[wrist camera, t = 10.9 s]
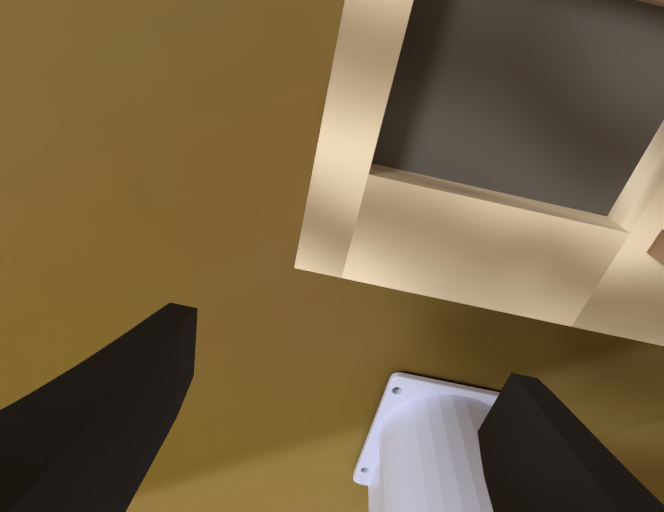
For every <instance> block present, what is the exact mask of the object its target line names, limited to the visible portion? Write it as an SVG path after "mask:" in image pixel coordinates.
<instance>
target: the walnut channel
mask: <svg viewBox="0 0 664 512" xmlns="http://www.w3.org/2000/svg"><path fill="white" fill-rule="evenodd" d="M646 253H647V254H649V255H650V256H651V257H653V258H654V259H655V260H657V261H658V262H659V263H661V264H662V265H663V266H664V230H663V229H662V230H661V231H660V233H659V234H658V236H657V237H656V239H655V240H654V242H653V243H652V245H651V246H650V248H649V249H648V251H647V252H646Z"/></svg>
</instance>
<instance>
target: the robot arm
mask: <svg viewBox="0 0 664 512" xmlns="http://www.w3.org/2000/svg"><path fill="white" fill-rule="evenodd" d="M196 325H197V308H193V307H189V306H184V305H179V304H174V303H169V304H167V305H165V306H164V307H162V308H161V309H159V310H158V311H157V312H155V313H154V314H152V315H151V316H149V317H148V318H146V319H145V320H144V321H142V322H141V323H139V324H138V325H136V326H135V327H134V328H132V329H131V330H129V331H128V332H126V333H125V334H123V335H122V336H120V337H119V338H118V339H116V340H115V341H113V342H112V343H110V344H108V345H107V346H105V347H104V348H102V349H101V350H99V351H98V352H96V353H95V354H93V355H92V356H90V357H89V358H87V359H86V360H84V361H83V362H81V363H79V364H78V365H76V366H75V367H73V368H72V369H70V370H68V371H67V372H65V373H63V374H62V375H60V376H58V377H57V378H55V379H53V380H52V381H50V382H48V383H47V384H45V385H43V386H42V387H40V388H38V389H37V390H35V391H33V392H32V393H30V394H28V395H26V396H25V397H23V398H21V399H19V400H18V401H16V402H14V403H12V404H10V405H9V406H7V407H5V408H3V409H1V410H0V512H126V510H127V508H128V506H129V504H130V503H131V501H132V499H133V497H134V495H135V493H136V492H137V490H138V488H139V486H140V484H141V482H142V481H143V479H144V477H145V475H146V473H147V471H148V470H149V468H150V466H151V464H152V462H153V460H154V459H155V457H156V455H157V453H158V451H159V449H160V448H161V446H162V444H163V442H164V440H165V438H166V436H167V435H168V433H169V431H170V429H171V427H172V425H173V423H174V421H175V420H176V418H177V415H178V413H179V410H180V408H181V406H182V403H183V401H184V398H185V396H186V393H187V391H188V388H189V386H190V383H191V381H192V378H193V376H194V360H195V343H196ZM395 387H399V388H398V389H395ZM353 480H354V481H355V482H356V483H358V484H362V485H367V486H368V497H369V512H664V505H663V504H662V503H661V502H660V501H659V500H658V499H657V498H656V497H655V496H654V495H653V494H652V493H651V492H650V491H649V490H647V489H646V488H645V487H644V486H643V485H642V484H641V483H640V482H639V481H638V480H637V479H636V478H635V477H634V476H633V475H632V474H631V473H630V472H629V471H628V470H627V469H626V468H625V467H624V466H623V465H622V464H621V463H620V462H619V461H618V460H617V458H616V457H615V456H614V455H613V454H612V453H611V452H610V451H609V450H608V449H607V448H606V447H605V446H604V445H603V444H602V443H601V442H600V441H599V440H598V439H597V438H596V437H595V436H594V435H593V434H592V433H591V432H590V431H589V430H588V429H587V428H586V427H585V425H584V424H583V423H582V422H581V421H580V420H579V419H578V418H577V417H576V416H575V415H574V414H573V413H572V412H571V411H570V410H569V409H568V408H567V407H566V406H565V405H564V404H563V403H562V402H561V401H560V400H559V399H558V398H557V397H556V396H555V395H554V394H553V393H552V392H551V391H550V390H549V389H548V388H547V387H546V386H545V385H544V384H543V383H542V382H541V381H540V380H539V379H537V378H534V377H529V376H524V375H519V374H514V373H511V374H510V376H509V378H508V380H507V381H506V383H505V385H504V387H503V388H502V390H501V392H495V391H490V390H485V389H480V388H475V387H470V386H465V385H460V384H455V383H450V382H445V381H441V380H436V379H431V378H426V377H421V376H416V375H411V374H406V373H400V372H398V373H394V374H393V375H391V377H390V379H389V381H388V384H387V387H386V389H385V392H384V394H383V397H382V400H381V402H380V405H379V408H378V410H377V413H376V415H375V418H374V421H373V423H372V426H371V429H370V431H369V434H368V436H367V439H366V442H365V444H364V447H363V449H362V452H361V455H360V457H359V460H358V463H357V465H356V468H355V470H354V473H353Z"/></svg>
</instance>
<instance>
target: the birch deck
mask: <svg viewBox="0 0 664 512" xmlns="http://www.w3.org/2000/svg"><path fill="white" fill-rule="evenodd" d="M662 229H663V230H664V0H345V3H344V8H343V13H342V19H341V24H340V29H339V34H338V40H337V45H336V50H335V56H334V61H333V66H332V71H331V77H330V82H329V87H328V93H327V98H326V103H325V108H324V114H323V119H322V124H321V129H320V135H319V140H318V145H317V151H316V156H315V161H314V166H313V172H312V177H311V182H310V188H309V193H308V198H307V203H306V209H305V214H304V219H303V225H302V230H301V235H300V240H299V246H298V251H297V256H296V261H295V267H294V268H297V269H302V270H307V271H311V272H316V273H321V274H326V275H330V276H335V277H340V278H344V279H349V280H354V281H359V282H363V283H368V284H373V285H377V286H382V287H387V288H392V289H396V290H401V291H406V292H410V293H415V294H420V295H425V296H429V297H434V298H439V299H443V300H448V301H453V302H458V303H462V304H467V305H472V306H476V307H481V308H486V309H491V310H495V311H500V312H505V313H509V314H514V315H519V316H524V317H528V318H533V319H538V320H542V321H547V322H552V323H557V324H561V325H566V326H571V327H575V328H580V329H585V330H590V331H594V332H599V333H604V334H608V335H613V336H618V337H623V338H627V339H632V340H637V341H641V342H646V343H651V344H656V345H660V346H664V266H663V265H662V264H661V263H659V262H658V261H657V260H655V259H654V258H653V257H651V256H650V255H649V254H647V253H646V252H647V251H648V249H649V248H650V246H651V245H652V243H653V242H654V240H655V239H656V237H657V236H658V234H659V233H660V231H661V230H662Z"/></svg>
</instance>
